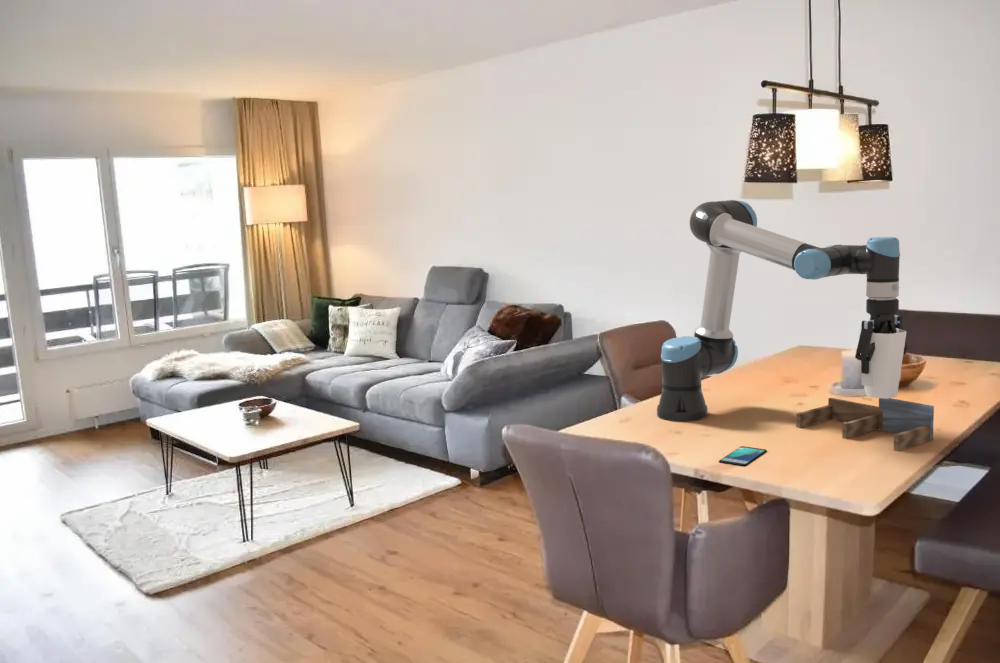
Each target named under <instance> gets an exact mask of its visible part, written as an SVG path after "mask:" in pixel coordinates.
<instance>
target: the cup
mask: <svg viewBox="0 0 1000 663" xmlns="http://www.w3.org/2000/svg"><path fill="white" fill-rule="evenodd" d="M896 331H897V332H896V333H893V334H881V333H874V332H873V333H872V337H871V341H870V344H871V343H874V342H875V351H874V353H873V356H872V358H871V361H873V386H872V387H870V386H864V390H865V395H866V396H867V397H870V398H872V399H873V398H874V399H879V398H883V399H888V398H892V399H894V398H897V397H898V392H899V387H900V386H899V385H900V380H901V379H900V373H901V374H902V366H903V365H902V364H903V359H904V354H903V352H904V346H905V339H906V340H907V338H906V337H907V331H906V330H905V329H904V330H901V329H898V328H896ZM860 334H861V329H858V337H859V338H860ZM859 338H858V339H859ZM867 356H868V355H867ZM899 379H900V380H899Z"/></svg>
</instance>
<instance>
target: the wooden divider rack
mask: <svg viewBox="0 0 1000 663" xmlns="http://www.w3.org/2000/svg"><path fill="white" fill-rule="evenodd" d="M827 399H828V404H827V405H823V406H819V407H816V408H811V409H808V410H805V411H801V412H797V413H796V418H795V419H796V420H795V422H796V428H798V429H801V428H805V427H809V426H813V425H815V424H819V422H820V423H823V422H827V421H830V420H833V421H838V422H842V427H841V428H842V429H841V430H842V431H841V432H842V433H841V434H842V436H841V437H842V439H845V440H846V439H847V440H848V439H850V438H854V437H858V436H860V435H865V434H868V433H870V432H875V431H877V430H879V429H880V430H879V431H884V430H885V431H886V432H888V431H889V433H893V432H894V433H893V451H895V452H899V451H902V450H906V449H909V448H913V447H915V446H918V445H921V444H924V443H927V442H931V441H933V440H934V416H935V414H934V412H935V411H934V410H935V406H934V405H929V404H924V403H920V402H914V401H908V400H901V399H896V398H888V399H883V398H878V406H876V405H871V404H866V403H861V402H855V401H850V400H844V399H840V398H835V397H829V398H827ZM874 430H875V431H874ZM885 431H884V432H885ZM867 432H868V433H867Z"/></svg>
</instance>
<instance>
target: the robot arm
mask: <svg viewBox="0 0 1000 663" xmlns="http://www.w3.org/2000/svg"><path fill="white" fill-rule="evenodd" d="M689 228H690V232H691V233H692V235H693V236H694V237H695V238H696V239H697V240H699V241H701V242H704V243H705V244H706V246H707V247H708V249H709V250H710V253H709V259H708V260H709V261H708V268H707V275H706V282H705V290H704V298H703V305H702V312H701V313H702V314H701V319H700V325H699V326H698V327H696V328H695V330H694V335H693V336H690V335H688V336H687V335H686V336H680V337H679V336H677V337H673V338H670V339H668V340H665V341H664V342H663V344H662V346H661V353H660V359H661V360H660V362H661V379H662V380H661V383H662V385H661V387H662V388H661V394H660V397H659V403H658V405H657V407H656V415H657V417H659V418H660V419H664V420H667V421H668V420H669V421H677V422H678V421H679V422H690V421H699V420H703V419H704V418H707V417H708V415H709V414H708V413H709V410H708V406H707V404H706V401H705V397H704V394H703V392H702V391H703V390H702V378H704V377H708V376H713V375H719V374H723V373H724V372H726V371H728V370H730V369H732V368H733V367H734V365H735V364H736V362H737V359H738V356H739V349H738V346H737V345H736V340H734V334H733V332H732V331H731V329H730V324H731V316H732V309H733V303H734V297H735V296H734V295H735V289H736V284H737V283H736V282H737V275H738V270H739V269H738V268H739V260H740V254H741V252H742V253H745V254H747V255H751V256H753V257H756V258H759V259H762V260H765V261H767V262H770V263H773V264H775V265H778V266H781V267H783V268H787V269H790V270H793V271H795V272H796V274H797V275H798V276H799V277H800V278H802V279H805V280H818V279H819V280H820V279H824V278H829V277H836V276H843V275H866V286H865V287H866V293H865V295H866V297H867V299H865V300H866V301H865V302H866V303H865V304H866V305H865V306H866V308H865V311H866V313H867V314H868V315H870V318H869V319H868V320H862V321H861V325H860V326H861V327H860V328H861V334H860V338H858V343H857V348H856V352H855V356H854V358H855V359H857V361H861V362H860V364H861V365H860V367H861V368H860V370H861V371H860V372H861V386H864V387H865V386H870V387H872V386H873V361H871V358H872V356H873V353H874V351H875V342H874V343H871V344H870V341H871V337H872V333H873V332H874V333H881V334H893V333H896V332H897V331H896V328H898V329H901V330H904V331H905V329H904V326H903V315H897V314H898V313H899V309H900V301H899V299H898V297H899V296H900V295H899V294H900V293H899V291H900V259H901V258H900V257H901V253H900V252H901V251H900V249H901V248H900V240H899V238H897V237H895V236H875V237H869V238H868V239H867V240H866V244H865V245H864V244H863V245H857V244H856V245H853V244H852V245H851V244H832V245H828V246H825V247H819V246H816V245H812V244H809V243H807V242H803V241H800V240H797V239H795V238H791V237H788V236H785V235H783V234H780V233H776V232H773V231H770V230H767V229H765V228H762V227H761V228H760V227H758V217H757V213H756V212H755V210H754V208H753V207H752V205H750V204H749V203H747V202H745V201H742V200H737V199H736V200H735V199H728V200H719V201H705V202H703V203H701V204H699V205H698V206H696V207H695V208H694V210H693V211H692V213H691V215H690V217H689ZM907 351H908V343H907V338H906V339H905V346H904V352H903V355H906V354H907ZM867 355H868V356H867ZM901 379H902V372H901V373H900V379H899V381H900V380H901Z"/></svg>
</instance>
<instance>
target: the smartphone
mask: <svg viewBox="0 0 1000 663" xmlns="http://www.w3.org/2000/svg"><path fill="white" fill-rule="evenodd" d="M767 452H768V451H767V449H765V448H764V449H763V448H759V447H751V446H746V445H745V446H743V445H741V446H739V447H738V448H736V449H735V450H734V451H732V452H730V453H728V454H727V455H726V456H724V457H723V458H721V459H719V460H718V463H719V464H725V465H730V466H736V467H742V468H743V467H747V466H748V465H749V464H751V463H753V462H754V461H755V460H757V459H760V457H761V456H763V455H765V453H767Z"/></svg>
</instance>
